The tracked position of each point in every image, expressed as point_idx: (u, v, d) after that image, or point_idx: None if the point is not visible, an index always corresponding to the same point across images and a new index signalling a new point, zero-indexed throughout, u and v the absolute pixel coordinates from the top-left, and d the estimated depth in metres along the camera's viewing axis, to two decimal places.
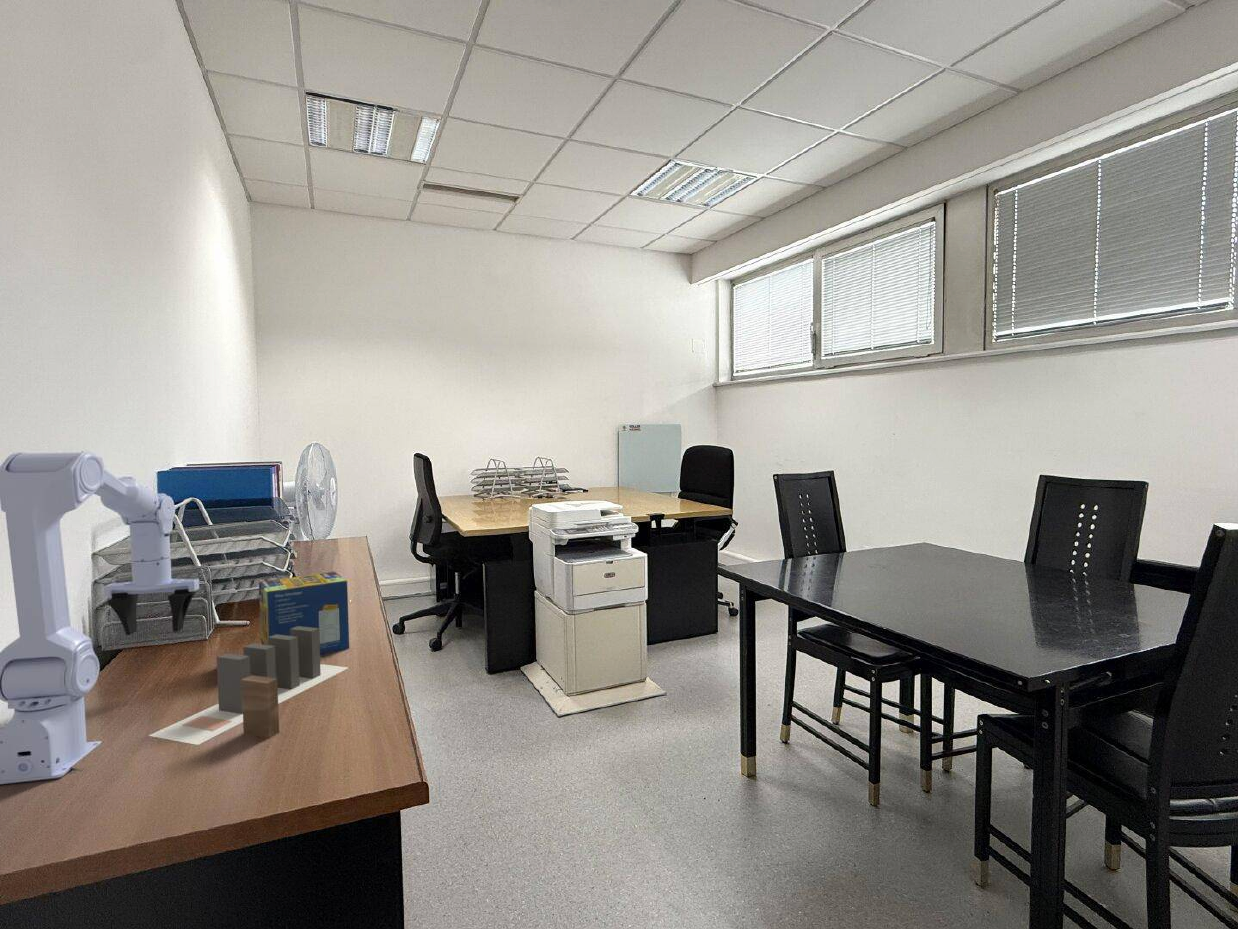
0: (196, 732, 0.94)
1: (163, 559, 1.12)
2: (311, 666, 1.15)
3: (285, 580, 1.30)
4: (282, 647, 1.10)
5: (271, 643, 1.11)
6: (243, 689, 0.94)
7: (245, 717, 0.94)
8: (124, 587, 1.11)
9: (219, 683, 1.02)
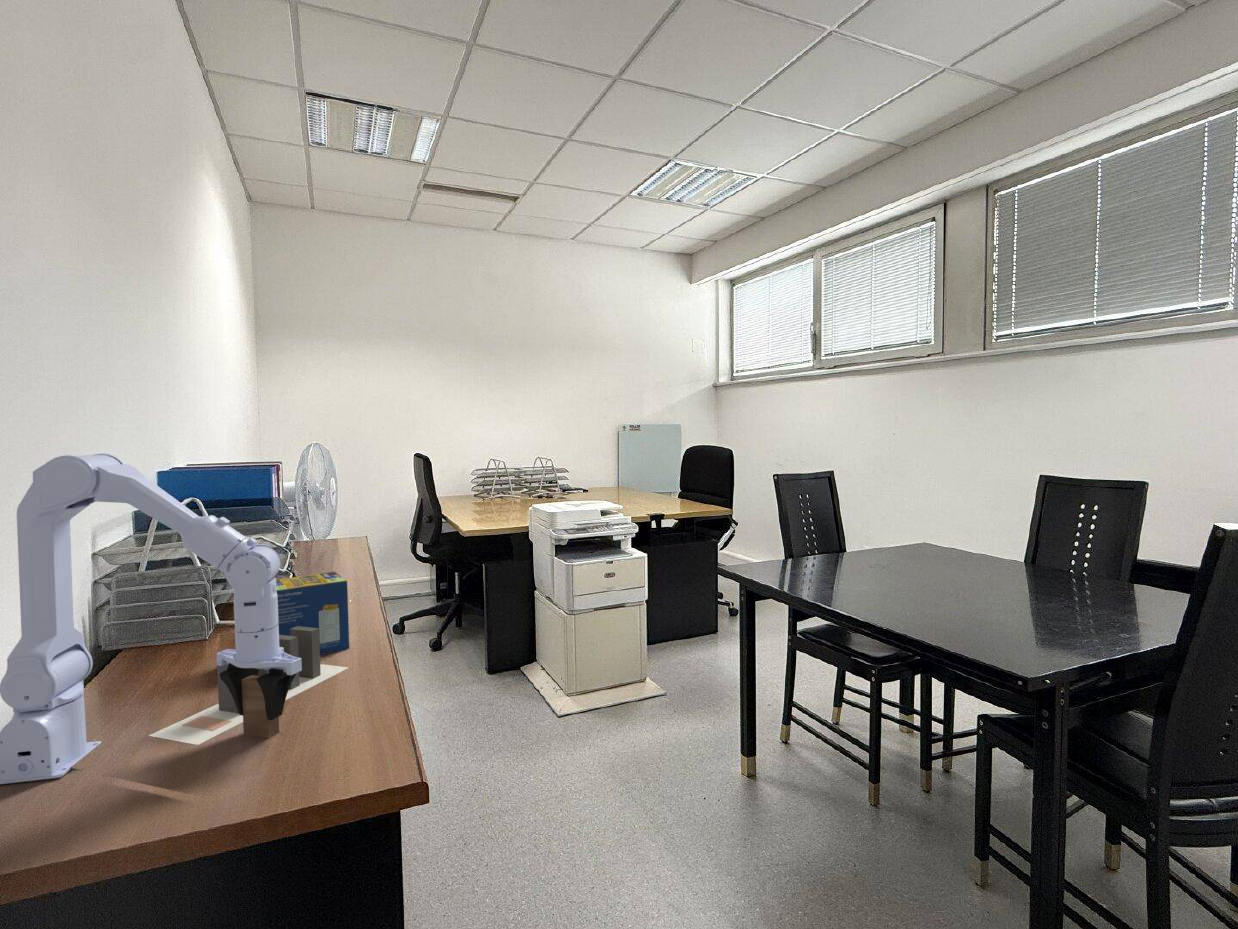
0: (196, 732, 0.94)
1: (263, 631, 0.91)
2: (311, 666, 1.15)
3: (285, 580, 1.30)
4: None
5: None
6: (243, 689, 0.94)
7: (245, 717, 0.94)
8: (228, 659, 0.93)
9: (219, 683, 1.02)
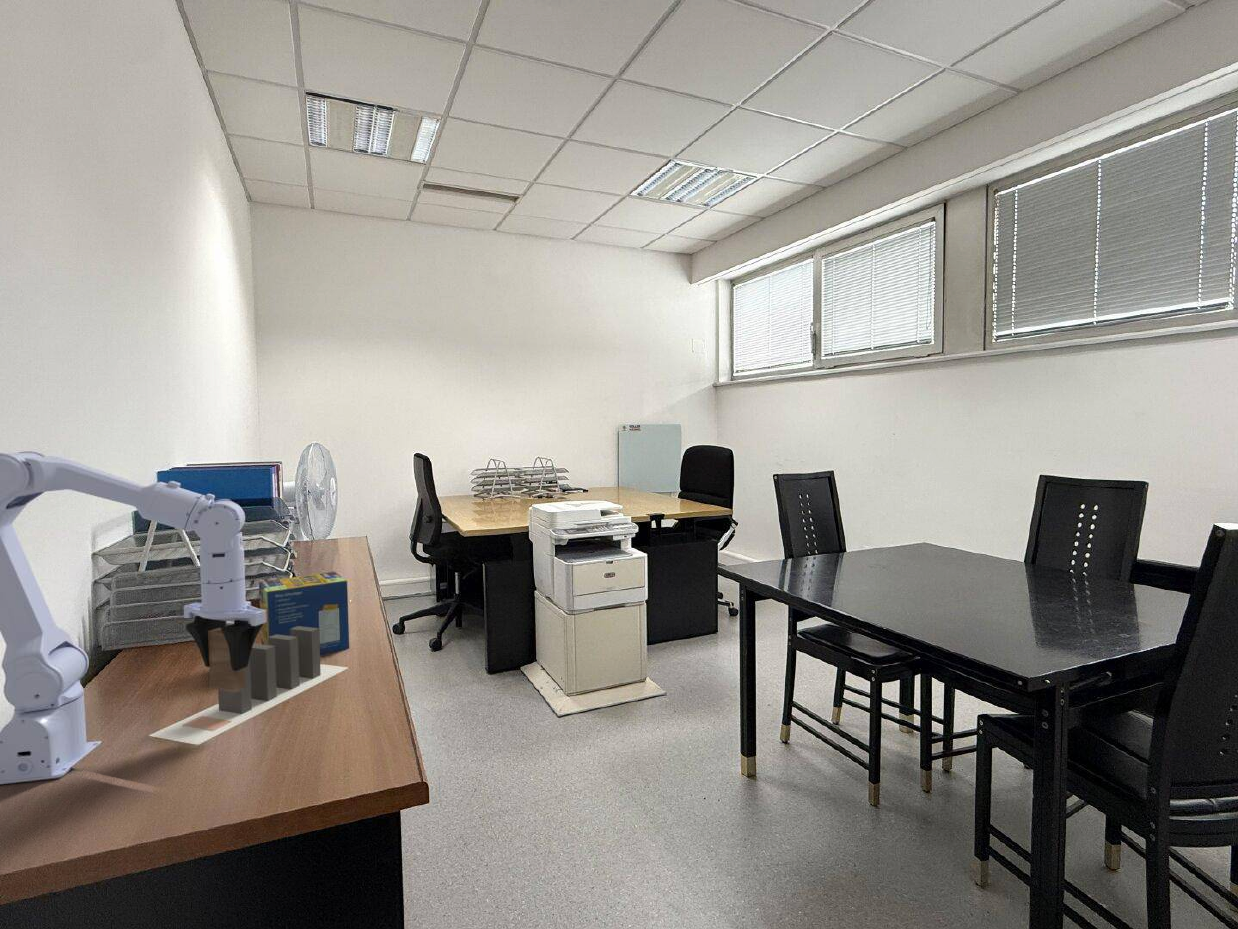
0: (196, 732, 0.94)
1: (228, 582, 0.93)
2: (311, 666, 1.15)
3: (285, 580, 1.30)
4: (282, 647, 1.10)
5: (271, 643, 1.11)
6: (209, 641, 0.95)
7: (211, 668, 0.95)
8: (195, 611, 0.94)
9: None
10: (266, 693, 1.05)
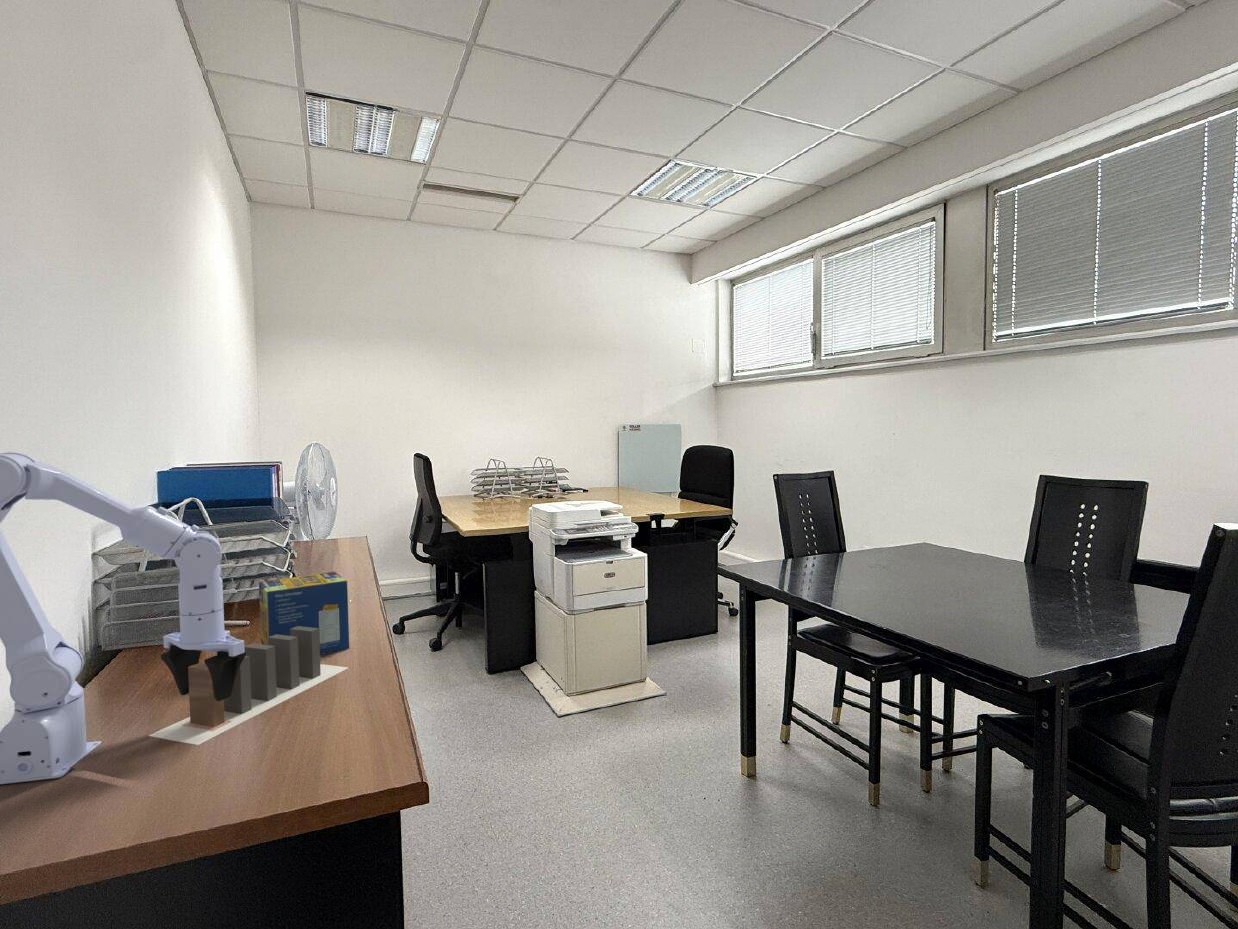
0: (196, 732, 0.94)
1: (206, 614, 0.95)
2: (311, 666, 1.15)
3: (285, 580, 1.30)
4: (282, 647, 1.10)
5: (271, 643, 1.11)
6: (189, 676, 0.97)
7: (191, 703, 0.97)
8: (174, 641, 0.96)
9: None
10: (266, 693, 1.05)
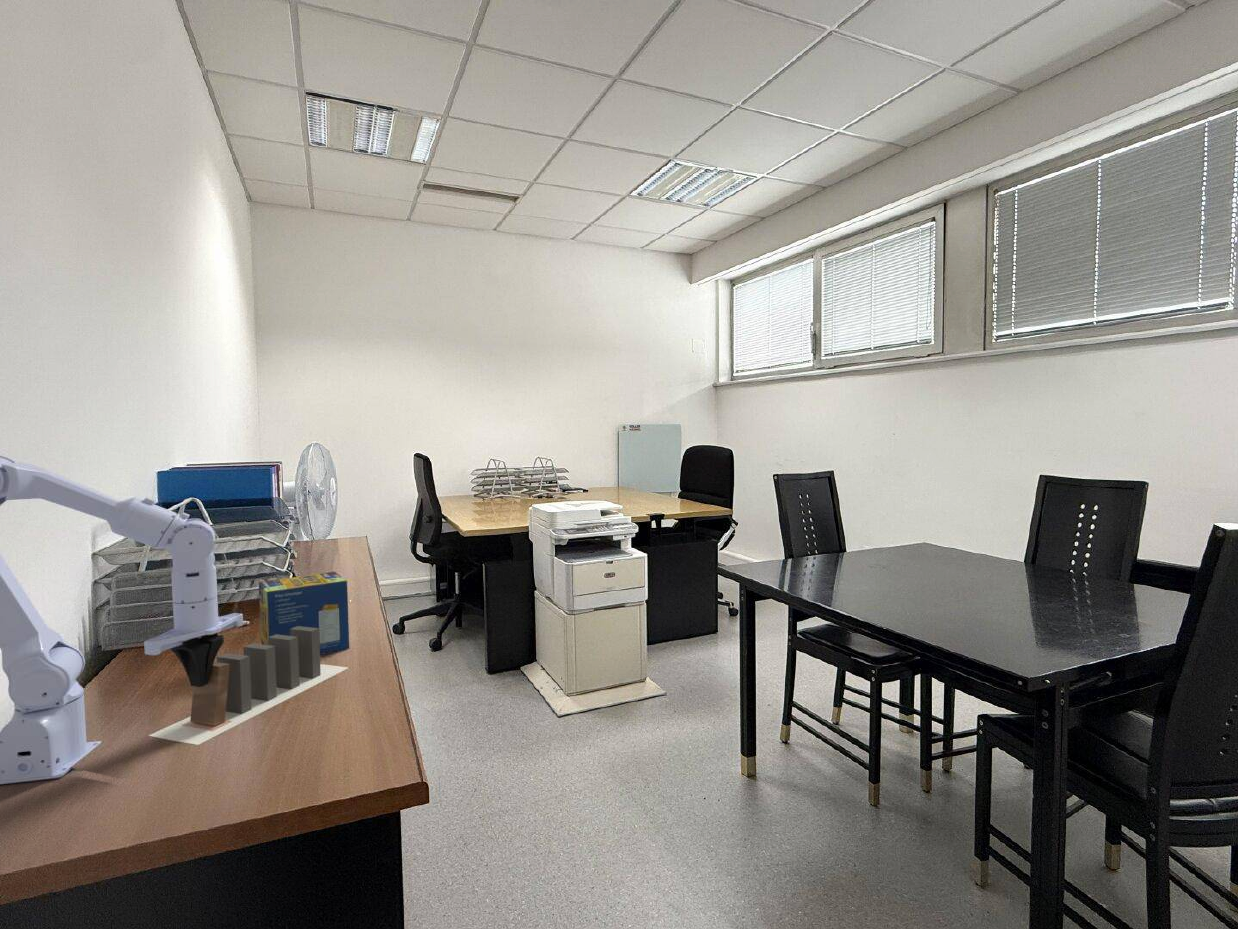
0: (196, 732, 0.94)
1: (173, 602, 0.93)
2: (311, 666, 1.15)
3: (285, 580, 1.30)
4: (282, 647, 1.10)
5: (271, 643, 1.11)
6: None
7: (194, 701, 0.97)
8: None
9: None
10: (266, 693, 1.05)
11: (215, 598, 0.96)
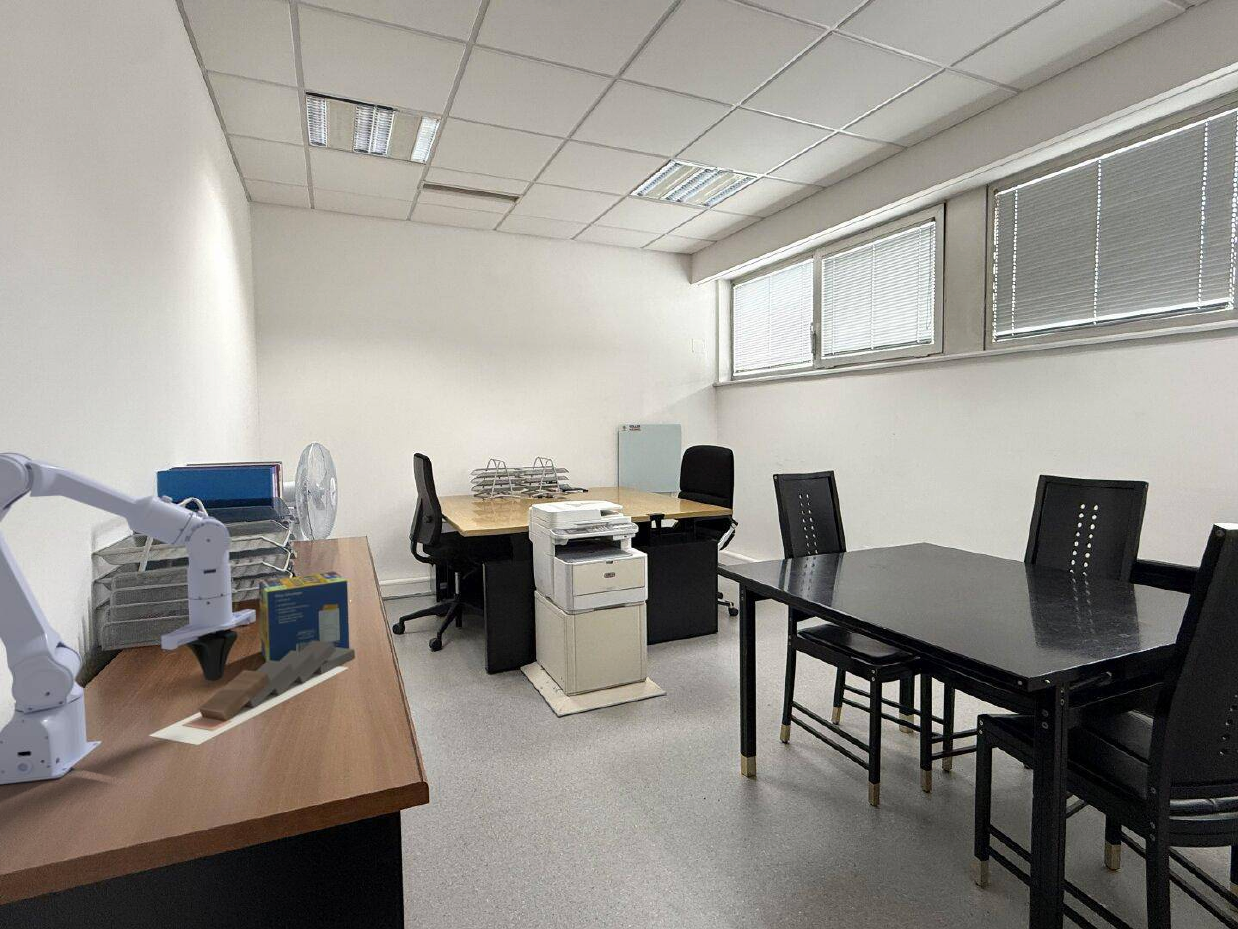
0: (196, 732, 0.94)
1: (189, 598, 0.96)
2: (328, 661, 1.19)
3: (285, 580, 1.30)
4: (320, 647, 1.19)
5: (311, 644, 1.20)
6: (238, 676, 1.05)
7: (217, 694, 1.01)
8: None
9: None
10: None
11: (229, 594, 0.98)
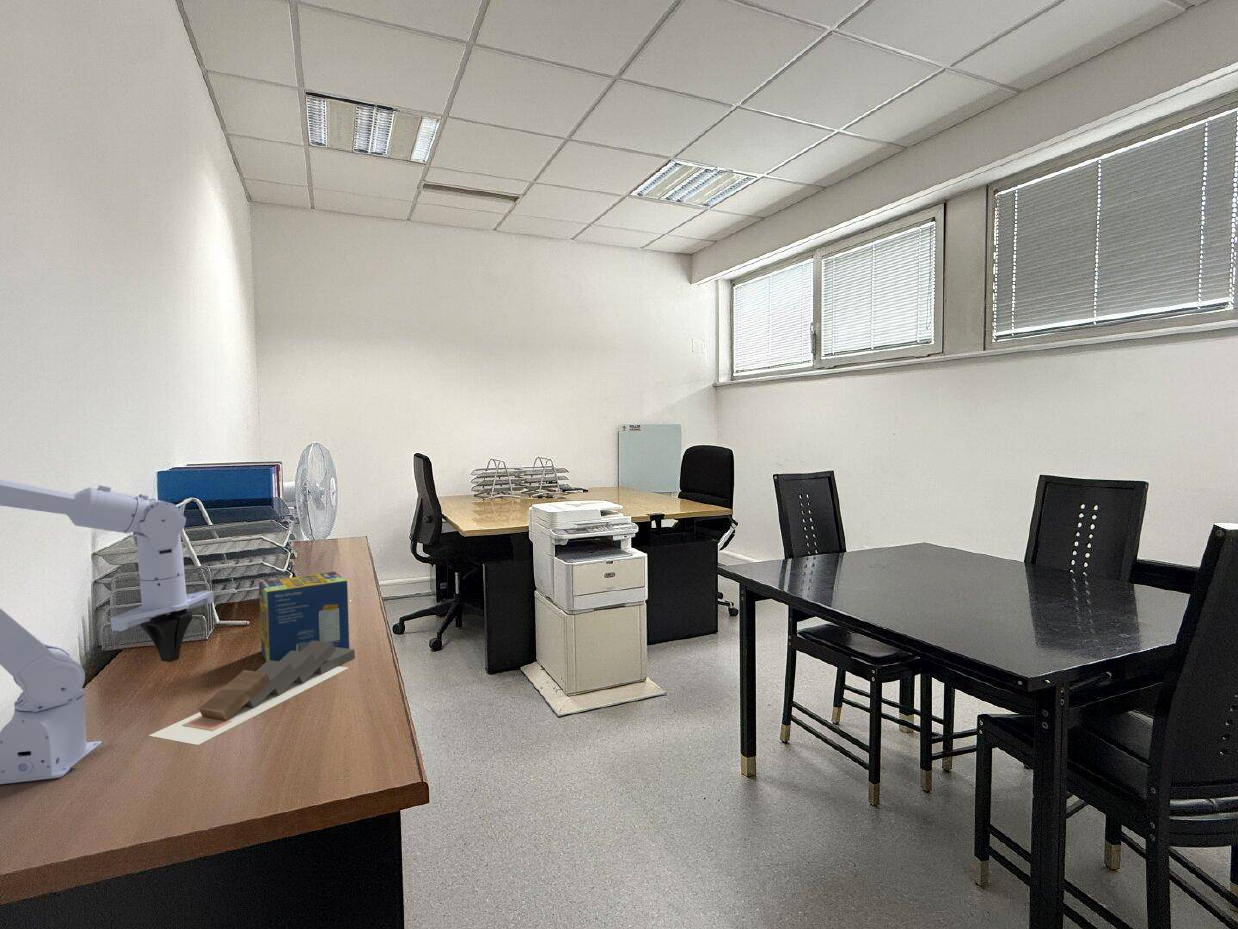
0: (196, 732, 0.94)
1: (140, 580, 0.95)
2: (328, 661, 1.19)
3: (285, 580, 1.30)
4: (320, 647, 1.19)
5: (311, 644, 1.20)
6: (238, 676, 1.05)
7: (217, 694, 1.01)
8: None
9: None
10: None
11: (182, 575, 0.98)
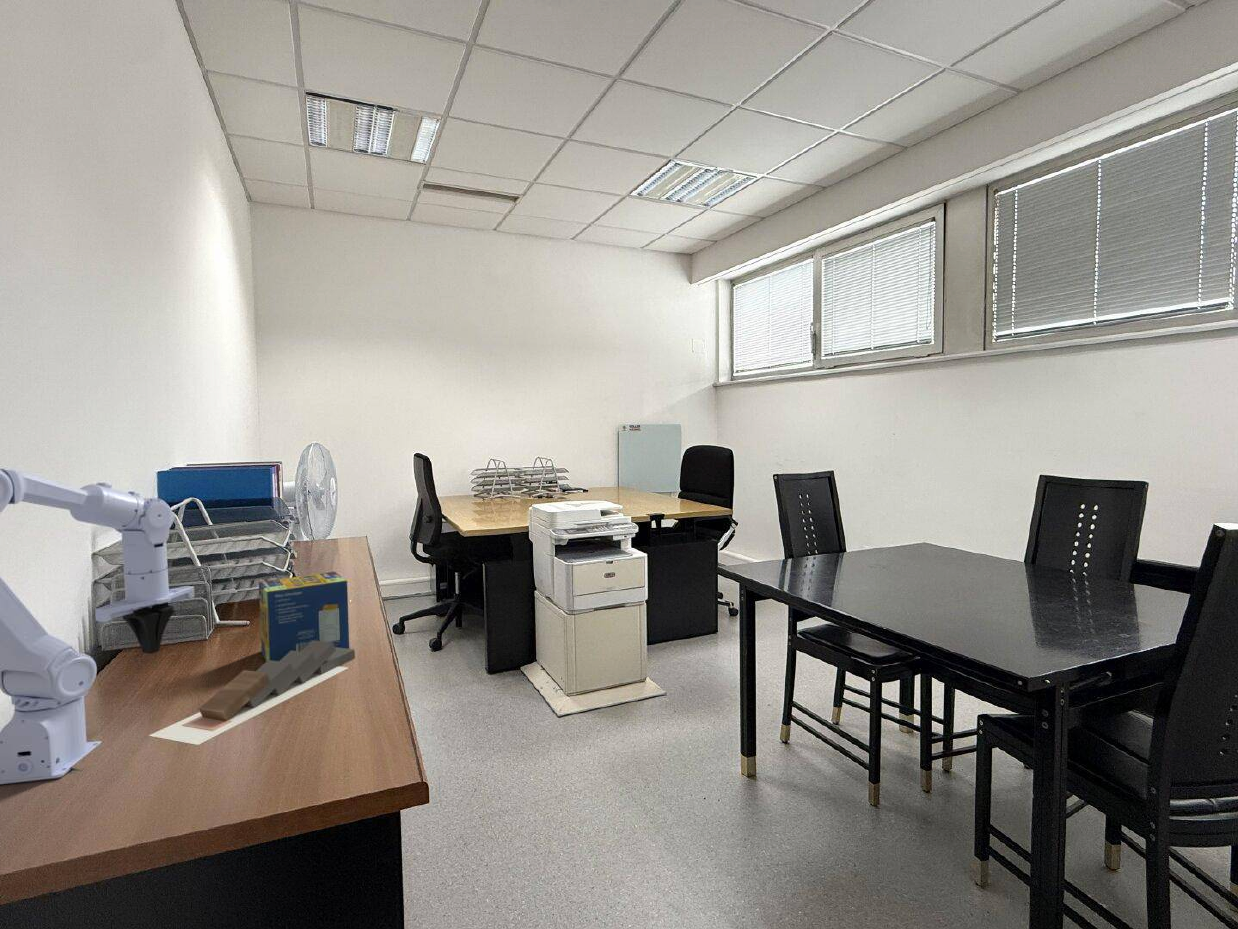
0: (196, 732, 0.94)
1: (124, 573, 0.99)
2: (328, 661, 1.19)
3: (285, 580, 1.30)
4: (320, 647, 1.19)
5: (311, 644, 1.20)
6: (238, 676, 1.05)
7: (217, 694, 1.01)
8: None
9: None
10: None
11: (165, 570, 1.02)
